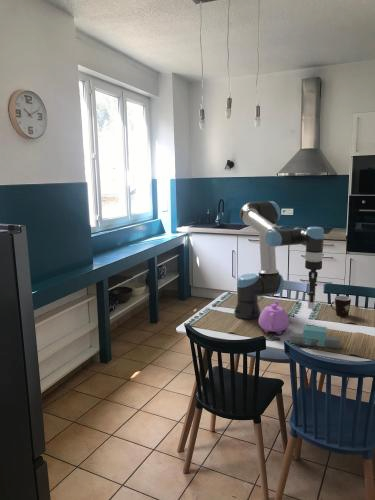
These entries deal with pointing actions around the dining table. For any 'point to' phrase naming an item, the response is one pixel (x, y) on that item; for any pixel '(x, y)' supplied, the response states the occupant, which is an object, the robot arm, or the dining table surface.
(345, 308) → the coffee mug
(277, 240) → the robot arm
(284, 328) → the teapot
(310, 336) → the clip
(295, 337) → the rail
